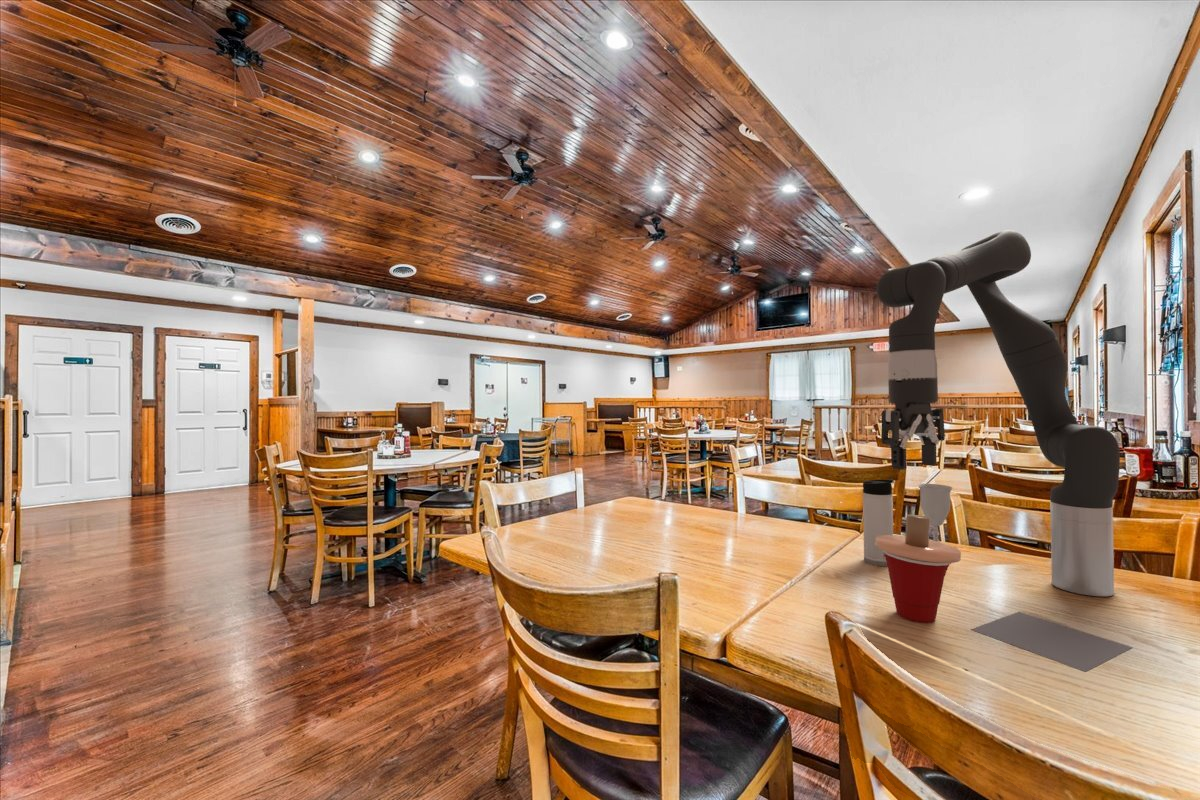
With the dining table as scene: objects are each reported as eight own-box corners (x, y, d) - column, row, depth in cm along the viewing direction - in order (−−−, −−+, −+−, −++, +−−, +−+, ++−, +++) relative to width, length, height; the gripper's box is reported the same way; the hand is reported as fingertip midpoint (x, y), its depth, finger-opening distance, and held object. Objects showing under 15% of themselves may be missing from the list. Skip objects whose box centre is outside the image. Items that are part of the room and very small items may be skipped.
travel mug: (894, 568, 117) (893, 481, 117) (862, 564, 121) (861, 479, 121) (895, 560, 123) (894, 478, 123) (865, 556, 126) (863, 476, 126)
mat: (1019, 613, 92) (1019, 611, 92) (1133, 649, 79) (1132, 647, 79) (970, 631, 86) (970, 629, 86) (1085, 674, 72) (1085, 671, 72)
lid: (903, 539, 100) (905, 507, 100) (976, 559, 89) (978, 523, 89) (859, 543, 94) (861, 510, 94) (931, 566, 83) (933, 528, 83)
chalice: (961, 566, 118) (959, 488, 118) (931, 567, 118) (930, 489, 118) (940, 556, 125) (939, 483, 125) (912, 557, 125) (911, 484, 125)
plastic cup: (969, 630, 86) (968, 559, 86) (908, 633, 86) (907, 562, 86) (924, 604, 97) (923, 541, 97) (870, 607, 97) (868, 543, 97)
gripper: (916, 377, 98) (918, 462, 98) (866, 378, 92) (868, 468, 92) (958, 375, 91) (960, 466, 91) (907, 375, 85) (909, 473, 85)
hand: (914, 467), depth 91 cm, fingers open, 8 cm apart
